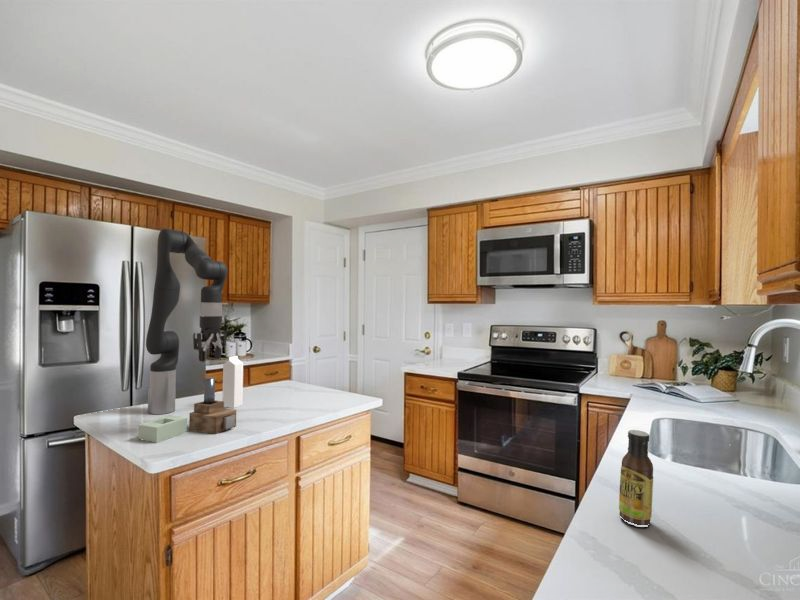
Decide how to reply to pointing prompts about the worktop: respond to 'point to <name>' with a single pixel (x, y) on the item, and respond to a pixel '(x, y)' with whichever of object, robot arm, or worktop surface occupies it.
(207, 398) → the grey peg
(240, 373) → the milk
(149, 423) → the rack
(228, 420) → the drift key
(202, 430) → the socket block
